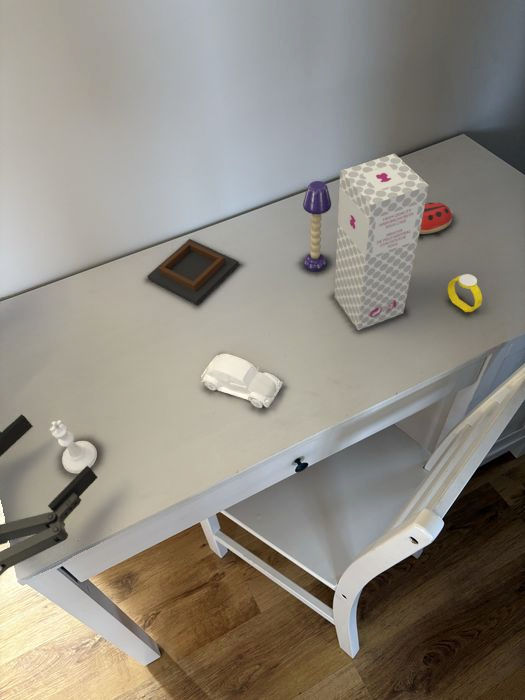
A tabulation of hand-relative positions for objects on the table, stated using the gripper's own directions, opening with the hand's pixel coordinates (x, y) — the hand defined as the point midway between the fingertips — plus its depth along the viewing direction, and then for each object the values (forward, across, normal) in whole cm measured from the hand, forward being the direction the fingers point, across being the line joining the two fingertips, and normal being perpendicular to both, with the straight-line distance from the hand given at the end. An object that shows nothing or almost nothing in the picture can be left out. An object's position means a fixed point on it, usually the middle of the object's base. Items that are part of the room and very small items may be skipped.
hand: (58, 444), depth 72 cm
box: (+49, +20, -6) cm, 53 cm away
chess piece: (+1, 0, -6) cm, 6 cm away
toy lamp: (+53, +7, -6) cm, 54 cm away
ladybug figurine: (+73, +19, -6) cm, 76 cm away
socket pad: (+39, -11, -6) cm, 41 cm away
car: (+24, +12, -6) cm, 28 cm away
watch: (+57, +33, -6) cm, 66 cm away
